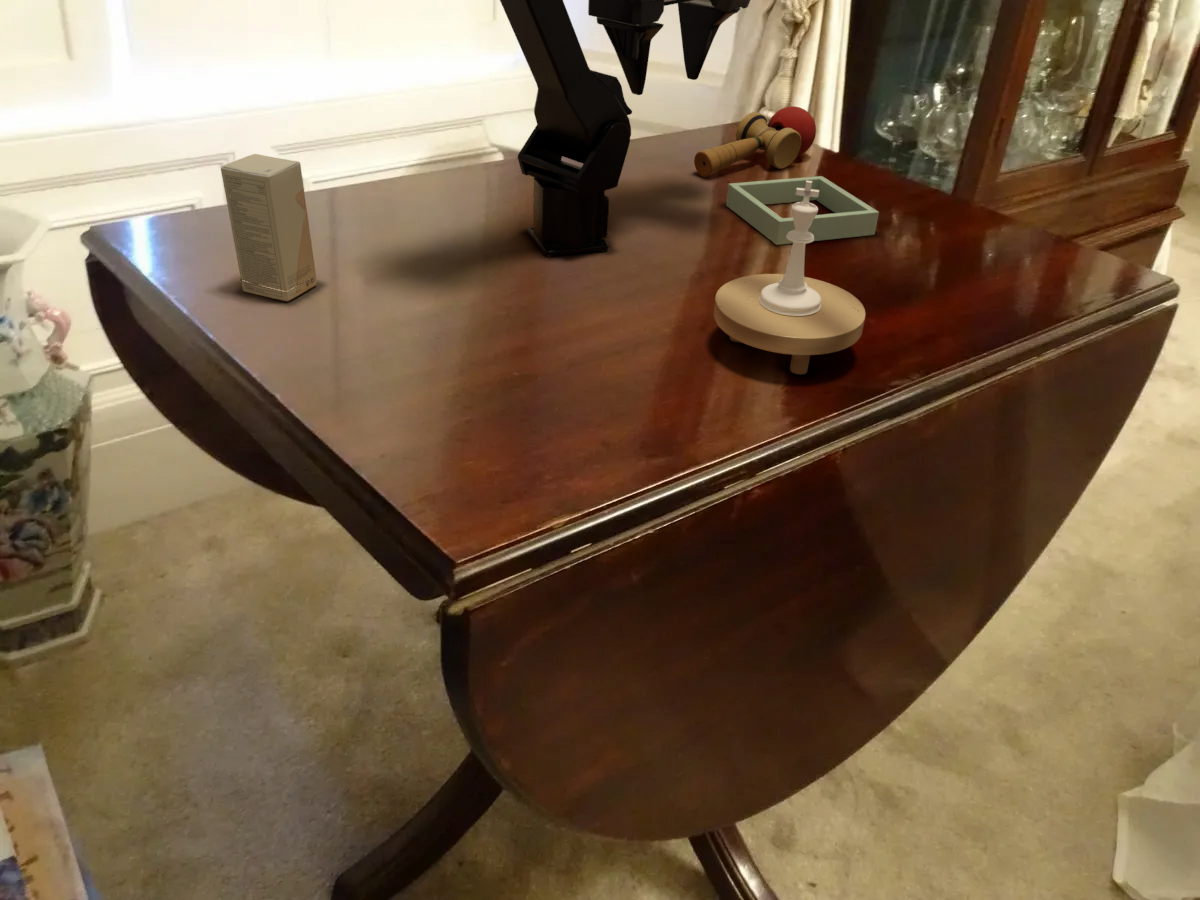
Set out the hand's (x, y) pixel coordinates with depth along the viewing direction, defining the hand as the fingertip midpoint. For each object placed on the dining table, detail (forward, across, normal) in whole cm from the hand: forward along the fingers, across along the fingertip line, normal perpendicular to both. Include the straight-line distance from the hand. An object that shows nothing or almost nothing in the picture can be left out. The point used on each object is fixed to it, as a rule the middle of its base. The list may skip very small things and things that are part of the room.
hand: (665, 86), depth 104 cm
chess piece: (+9, -18, -27) cm, 33 cm away
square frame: (+13, +9, -12) cm, 20 cm away
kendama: (+13, +22, +1) cm, 25 cm away
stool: (+13, -18, -27) cm, 35 cm away
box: (+13, -40, +11) cm, 43 cm away
